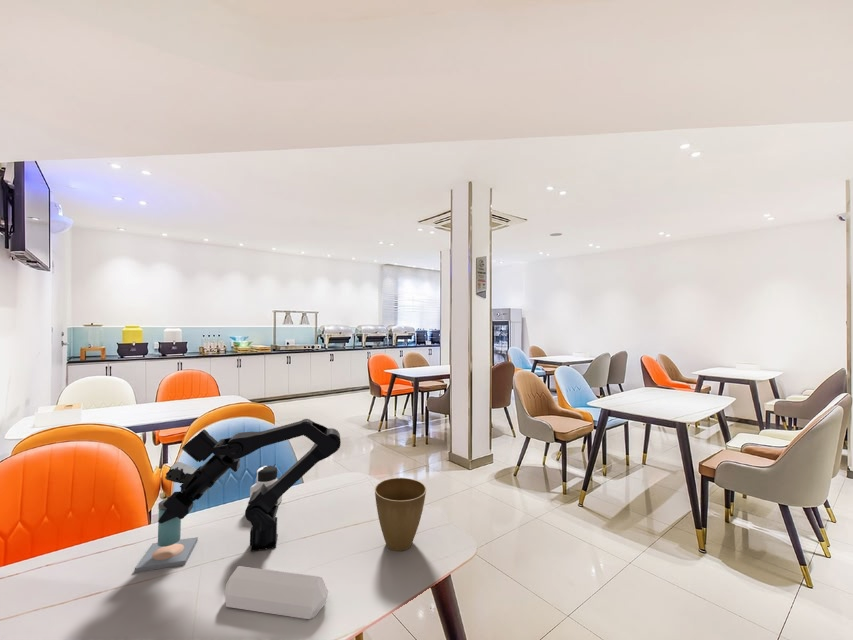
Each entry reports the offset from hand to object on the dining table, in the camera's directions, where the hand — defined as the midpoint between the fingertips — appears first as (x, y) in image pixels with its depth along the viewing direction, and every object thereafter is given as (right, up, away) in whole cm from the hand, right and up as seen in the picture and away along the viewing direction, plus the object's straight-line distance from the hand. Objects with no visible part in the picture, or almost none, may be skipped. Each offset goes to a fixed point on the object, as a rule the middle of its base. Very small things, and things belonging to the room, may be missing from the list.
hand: (164, 517), depth 97 cm
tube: (+1, -7, 0) cm, 7 cm away
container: (+15, -12, +28) cm, 34 cm away
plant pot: (+63, -12, +7) cm, 64 cm away
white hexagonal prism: (+37, -11, -16) cm, 42 cm away
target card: (+1, -10, 0) cm, 10 cm away
